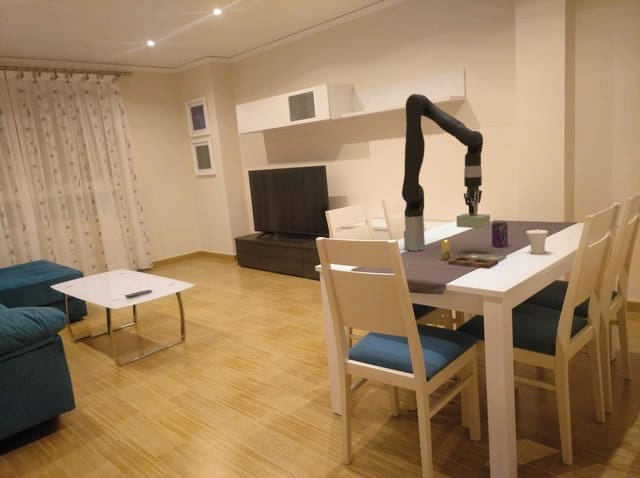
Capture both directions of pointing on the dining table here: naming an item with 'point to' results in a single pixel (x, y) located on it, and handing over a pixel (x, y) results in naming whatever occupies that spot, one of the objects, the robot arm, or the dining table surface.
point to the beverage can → (499, 234)
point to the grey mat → (487, 256)
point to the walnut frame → (473, 262)
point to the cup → (537, 240)
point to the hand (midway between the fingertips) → (473, 213)
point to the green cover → (473, 219)
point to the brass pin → (445, 249)
